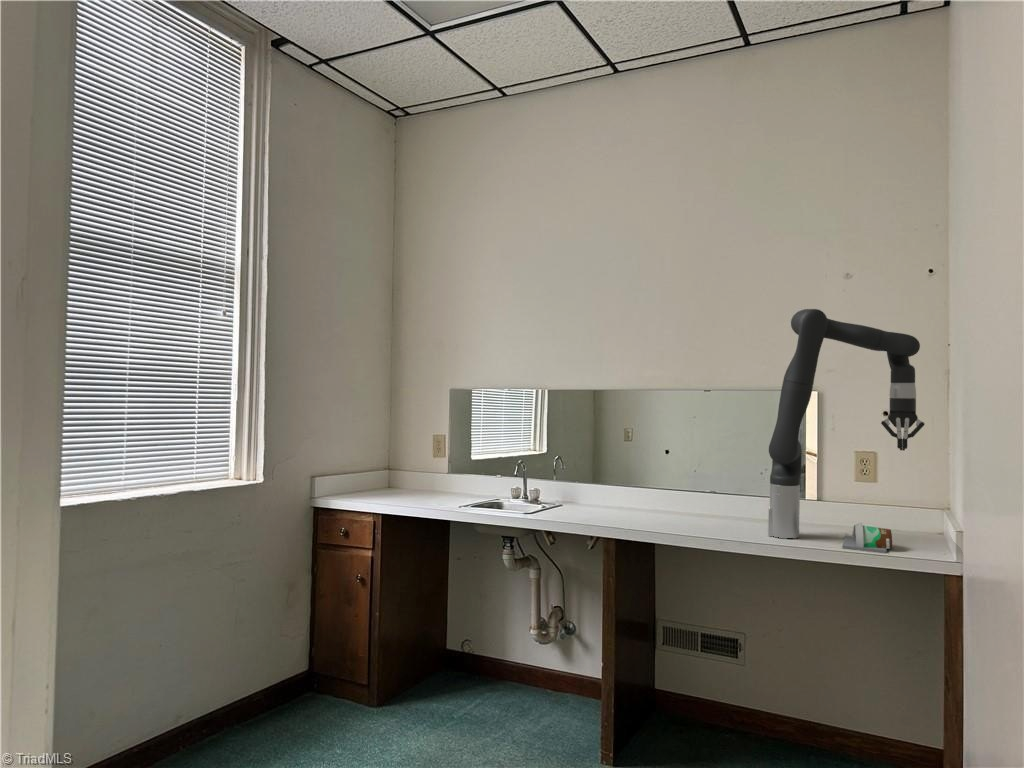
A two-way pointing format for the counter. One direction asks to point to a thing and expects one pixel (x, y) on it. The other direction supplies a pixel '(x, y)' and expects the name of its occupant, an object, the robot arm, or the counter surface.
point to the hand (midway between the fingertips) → (902, 450)
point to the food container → (872, 537)
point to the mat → (851, 544)
